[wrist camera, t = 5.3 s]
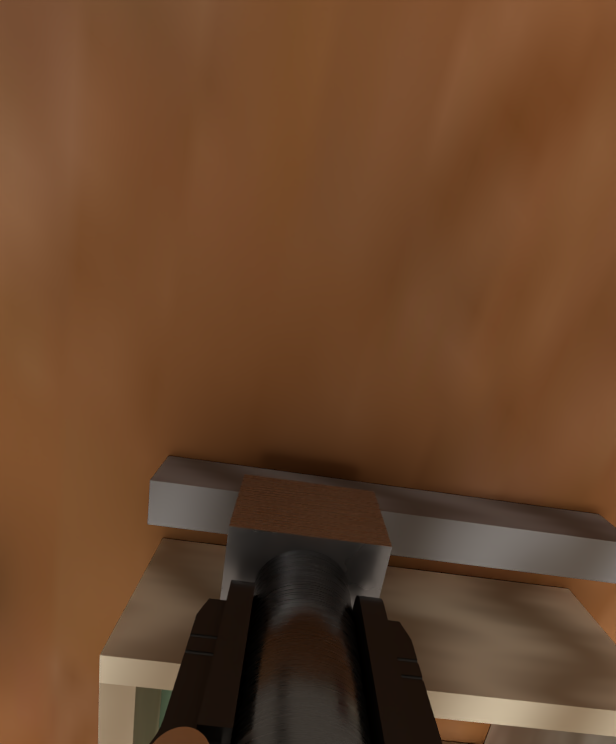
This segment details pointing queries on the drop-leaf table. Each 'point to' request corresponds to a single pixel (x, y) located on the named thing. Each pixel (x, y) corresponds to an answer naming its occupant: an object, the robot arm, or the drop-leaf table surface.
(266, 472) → the pitch
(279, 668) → the striker
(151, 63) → the drop-leaf table surface
